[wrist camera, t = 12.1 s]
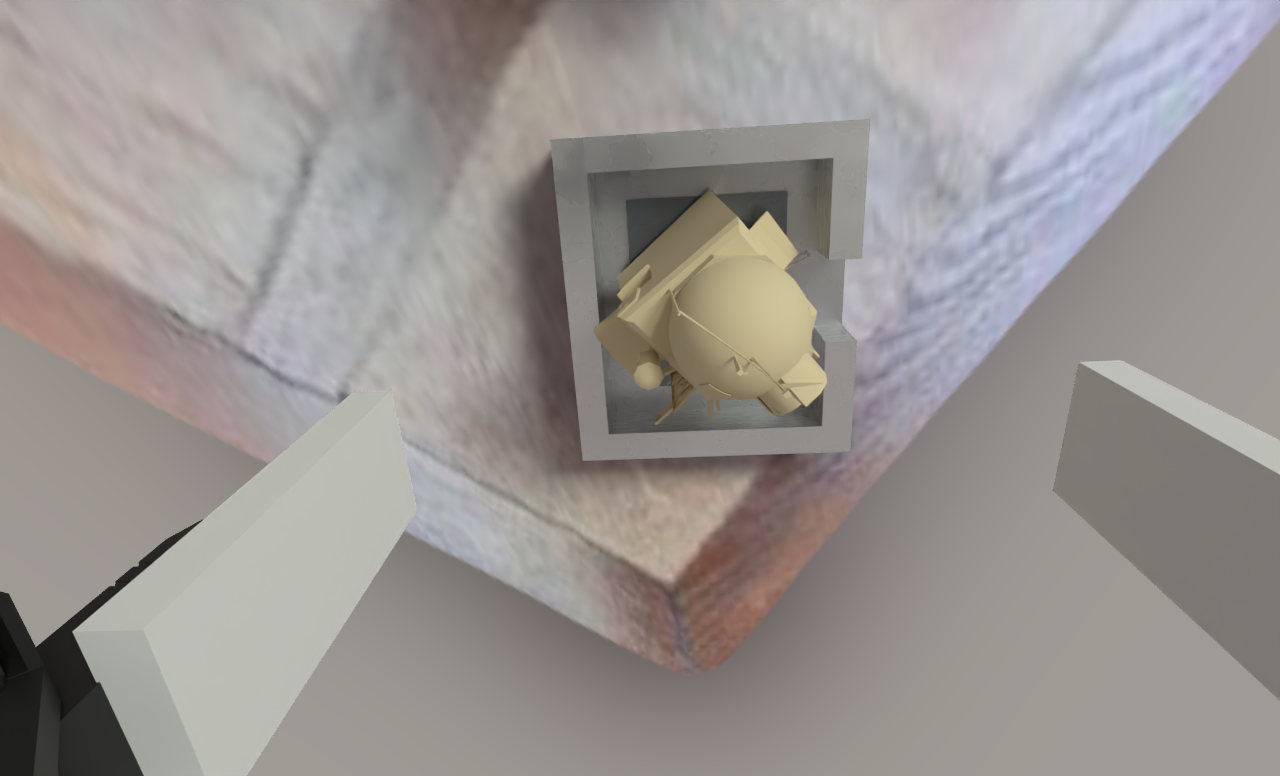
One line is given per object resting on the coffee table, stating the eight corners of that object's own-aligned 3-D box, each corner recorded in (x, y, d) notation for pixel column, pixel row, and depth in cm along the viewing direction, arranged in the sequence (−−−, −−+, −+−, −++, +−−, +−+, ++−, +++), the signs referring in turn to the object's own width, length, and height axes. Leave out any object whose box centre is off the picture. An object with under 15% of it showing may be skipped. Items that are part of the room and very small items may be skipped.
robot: (683, 411, 36) (733, 592, 22) (578, 309, 34) (561, 442, 20) (833, 281, 34) (992, 395, 20) (732, 161, 31) (834, 196, 17)
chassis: (590, 429, 38) (582, 460, 35) (563, 139, 33) (550, 139, 29) (832, 420, 38) (850, 451, 34) (846, 121, 32) (870, 119, 28)
